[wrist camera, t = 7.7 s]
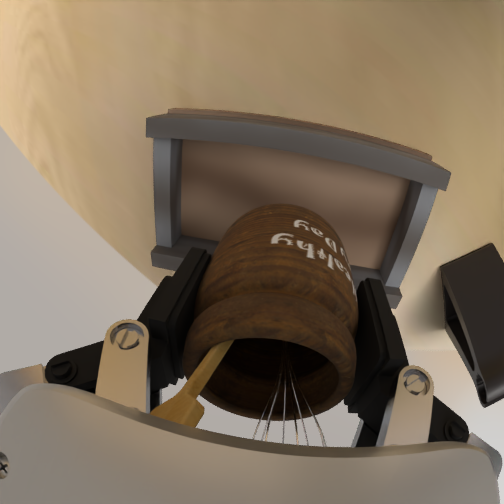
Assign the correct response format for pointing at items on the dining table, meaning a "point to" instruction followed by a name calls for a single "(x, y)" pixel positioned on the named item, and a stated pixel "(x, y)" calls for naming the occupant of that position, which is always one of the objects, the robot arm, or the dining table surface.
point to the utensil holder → (271, 322)
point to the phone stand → (477, 318)
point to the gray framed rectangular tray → (289, 186)
